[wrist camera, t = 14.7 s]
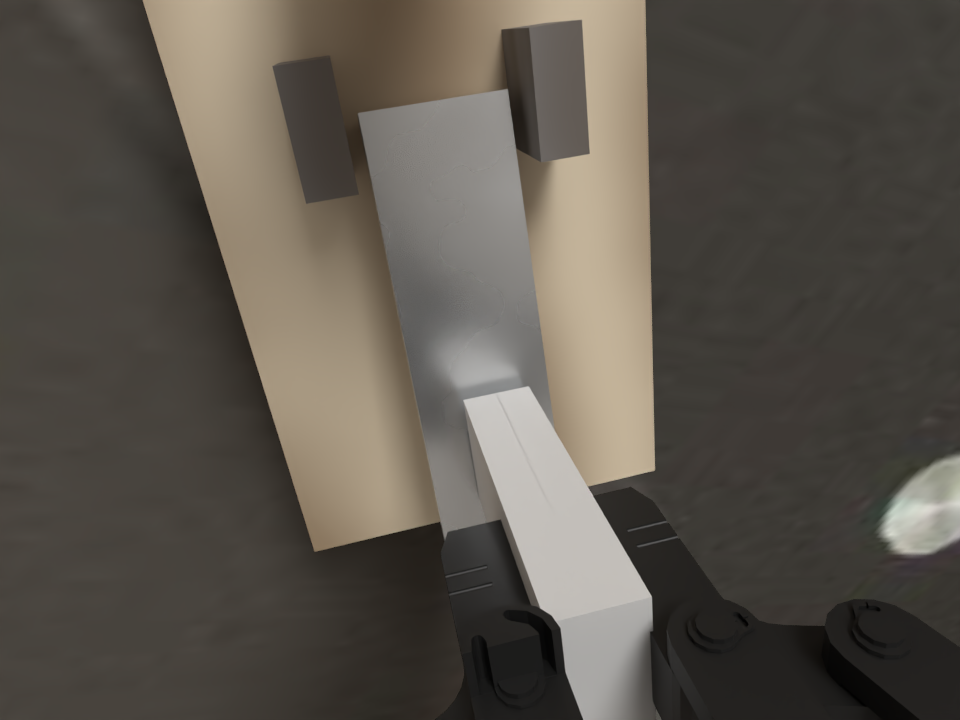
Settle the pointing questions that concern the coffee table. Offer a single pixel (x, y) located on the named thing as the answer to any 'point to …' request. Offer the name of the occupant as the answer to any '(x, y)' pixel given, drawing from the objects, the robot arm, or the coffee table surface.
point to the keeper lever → (456, 272)
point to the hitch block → (356, 231)
